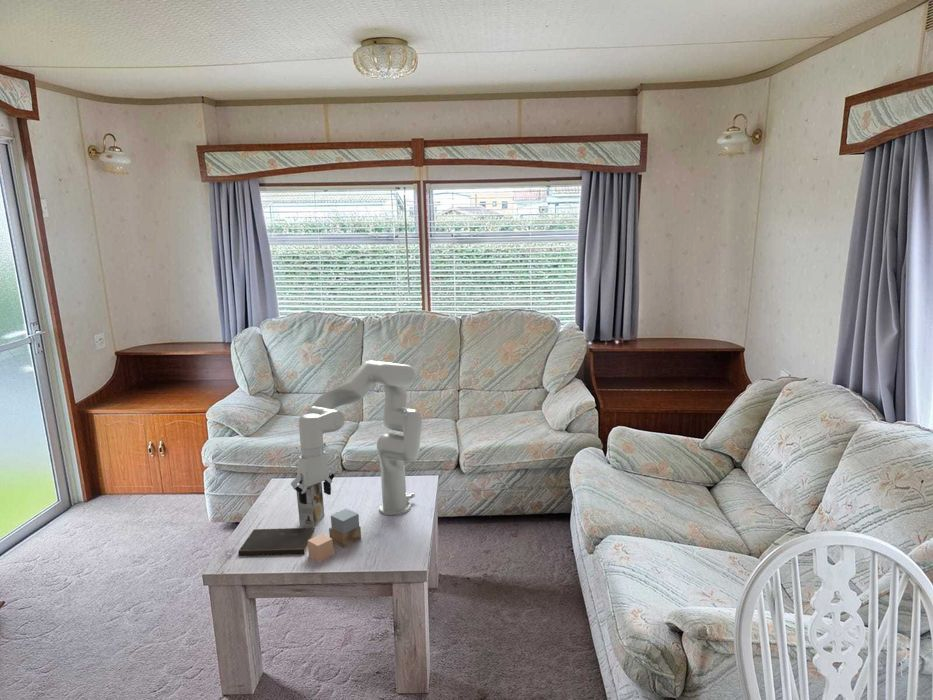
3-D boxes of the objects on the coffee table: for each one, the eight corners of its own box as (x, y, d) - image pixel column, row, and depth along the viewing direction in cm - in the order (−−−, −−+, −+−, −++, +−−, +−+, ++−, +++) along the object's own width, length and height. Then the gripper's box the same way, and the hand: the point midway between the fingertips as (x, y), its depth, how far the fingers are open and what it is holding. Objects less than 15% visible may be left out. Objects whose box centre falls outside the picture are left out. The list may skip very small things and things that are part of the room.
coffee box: (309, 514, 237) (306, 477, 234) (324, 516, 236) (321, 478, 232) (299, 525, 228) (295, 486, 225) (314, 527, 227) (311, 487, 224)
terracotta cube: (323, 549, 211) (322, 533, 210) (333, 554, 207) (332, 538, 206) (308, 556, 206) (307, 540, 205) (319, 562, 203) (317, 545, 201)
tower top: (346, 520, 221) (346, 508, 220) (359, 526, 216) (358, 513, 215) (331, 528, 216) (330, 515, 215) (343, 534, 211) (343, 521, 210)
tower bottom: (347, 532, 222) (346, 520, 221) (361, 539, 217) (360, 526, 216) (329, 541, 217) (328, 528, 216) (343, 548, 211) (342, 535, 210)
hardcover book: (254, 534, 223) (253, 529, 223) (315, 533, 223) (315, 527, 223) (238, 557, 208) (237, 551, 207) (304, 555, 208) (303, 549, 207)
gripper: (327, 441, 208) (329, 487, 211) (283, 455, 195) (287, 504, 198) (340, 446, 203) (343, 493, 206) (296, 460, 190) (300, 510, 193)
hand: (315, 498), depth 202 cm, fingers open, 9 cm apart
